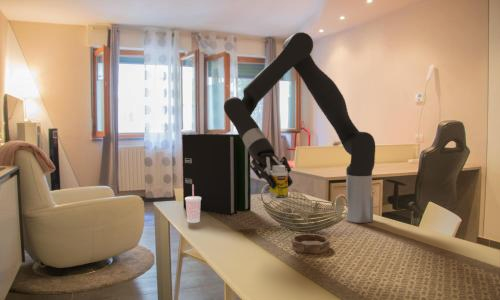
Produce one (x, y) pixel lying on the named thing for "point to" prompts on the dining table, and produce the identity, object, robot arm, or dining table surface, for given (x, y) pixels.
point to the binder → (217, 172)
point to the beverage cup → (193, 207)
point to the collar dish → (310, 243)
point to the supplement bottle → (279, 183)
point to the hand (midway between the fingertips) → (282, 185)
